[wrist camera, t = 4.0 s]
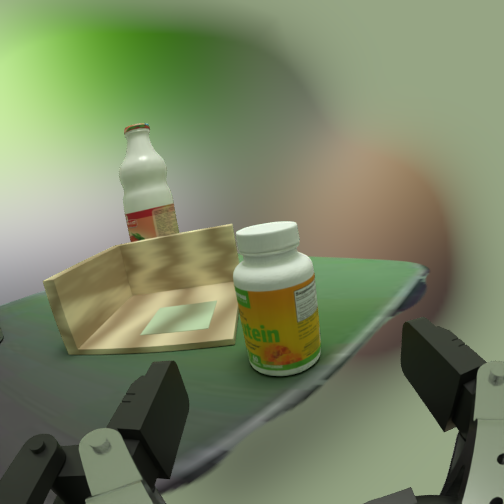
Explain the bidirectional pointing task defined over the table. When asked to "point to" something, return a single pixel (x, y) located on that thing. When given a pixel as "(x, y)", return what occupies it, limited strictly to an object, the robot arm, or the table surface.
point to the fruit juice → (146, 188)
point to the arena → (150, 295)
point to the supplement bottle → (277, 299)
